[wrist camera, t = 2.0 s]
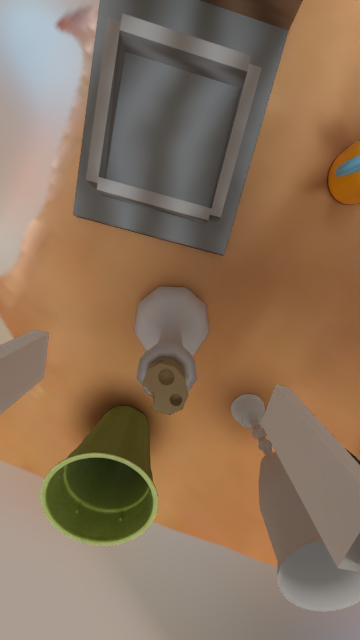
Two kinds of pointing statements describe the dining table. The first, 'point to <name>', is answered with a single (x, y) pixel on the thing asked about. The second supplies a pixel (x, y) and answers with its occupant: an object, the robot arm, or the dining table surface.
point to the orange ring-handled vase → (346, 176)
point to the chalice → (294, 529)
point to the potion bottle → (169, 344)
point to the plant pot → (104, 483)
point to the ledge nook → (177, 113)
